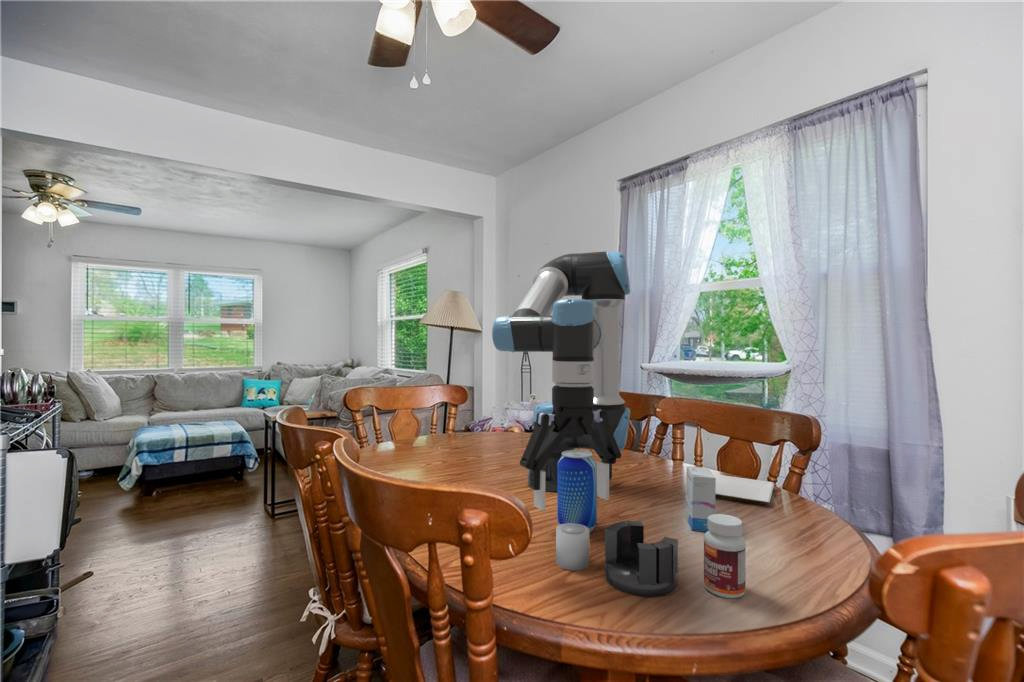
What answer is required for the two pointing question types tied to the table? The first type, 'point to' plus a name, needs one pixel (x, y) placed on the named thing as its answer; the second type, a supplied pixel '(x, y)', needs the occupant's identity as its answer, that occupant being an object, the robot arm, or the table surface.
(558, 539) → the cap
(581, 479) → the beer can
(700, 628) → the table surface
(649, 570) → the dark faceted crown
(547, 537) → the table surface
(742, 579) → the pill bottle
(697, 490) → the ink box
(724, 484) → the plate
